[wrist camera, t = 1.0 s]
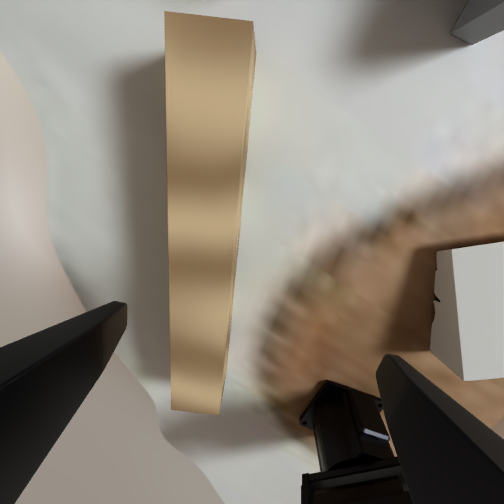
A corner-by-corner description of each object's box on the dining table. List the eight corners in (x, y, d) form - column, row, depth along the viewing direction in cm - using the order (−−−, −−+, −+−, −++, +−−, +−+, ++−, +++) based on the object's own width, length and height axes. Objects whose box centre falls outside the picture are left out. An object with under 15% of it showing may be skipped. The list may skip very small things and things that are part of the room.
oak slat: (227, 367, 27) (219, 415, 22) (187, 363, 27) (171, 409, 22) (256, 54, 17) (253, 21, 12) (192, 47, 17) (164, 11, 12)
